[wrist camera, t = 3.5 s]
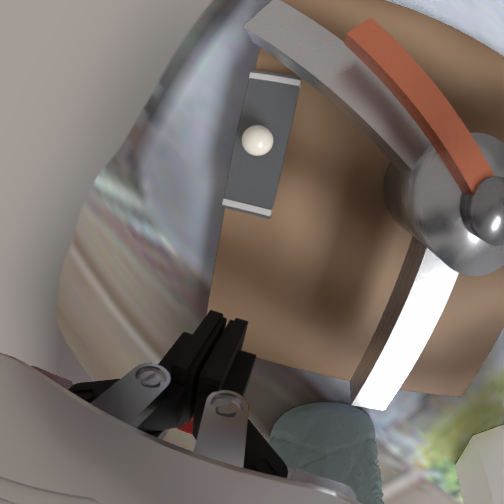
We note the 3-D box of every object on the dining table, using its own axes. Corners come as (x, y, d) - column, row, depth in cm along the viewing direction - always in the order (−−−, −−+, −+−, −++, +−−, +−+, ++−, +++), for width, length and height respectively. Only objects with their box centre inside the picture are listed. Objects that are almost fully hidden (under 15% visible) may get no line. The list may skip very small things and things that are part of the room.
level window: (253, 73, 12) (251, 69, 12) (301, 81, 12) (300, 77, 12) (225, 205, 15) (221, 207, 14) (271, 217, 14) (269, 219, 14)
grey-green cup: (402, 430, 19) (415, 551, 7) (314, 473, 22) (298, 573, 11) (326, 373, 18) (312, 537, 7) (236, 428, 22) (191, 544, 11)
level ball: (248, 124, 13) (241, 120, 11) (278, 130, 13) (273, 126, 11) (243, 153, 13) (234, 151, 12) (272, 159, 13) (267, 158, 12)
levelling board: (281, -7, 12) (278, -21, 10) (544, 100, 9) (557, 98, 8) (211, 327, 19) (202, 340, 18) (454, 383, 16) (460, 396, 15)
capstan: (269, 33, 11) (233, -41, 5) (555, 153, 9) (625, 161, 3) (210, 319, 16) (158, 393, 10) (473, 379, 14) (505, 446, 8)
